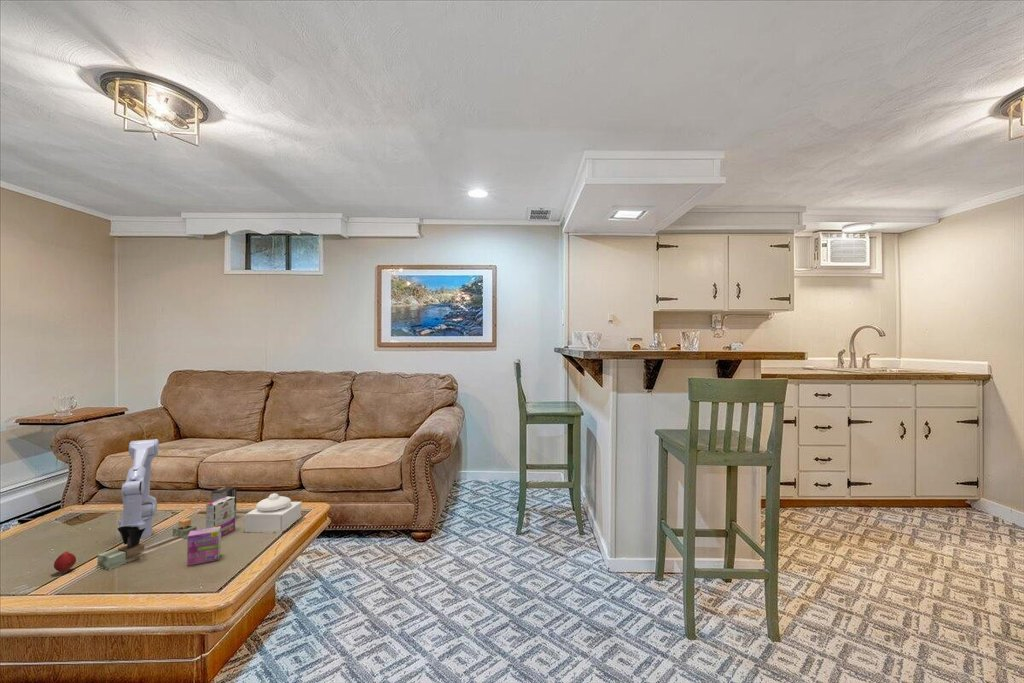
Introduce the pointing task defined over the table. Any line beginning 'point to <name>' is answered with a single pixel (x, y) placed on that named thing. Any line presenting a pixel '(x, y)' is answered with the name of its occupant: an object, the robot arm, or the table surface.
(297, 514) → the butter dish
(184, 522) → the button
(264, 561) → the table surface
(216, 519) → the candy bar box
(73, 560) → the onion
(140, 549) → the carriage
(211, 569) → the table surface
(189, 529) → the rail stand
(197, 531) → the box
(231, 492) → the coffee box
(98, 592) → the table surface
